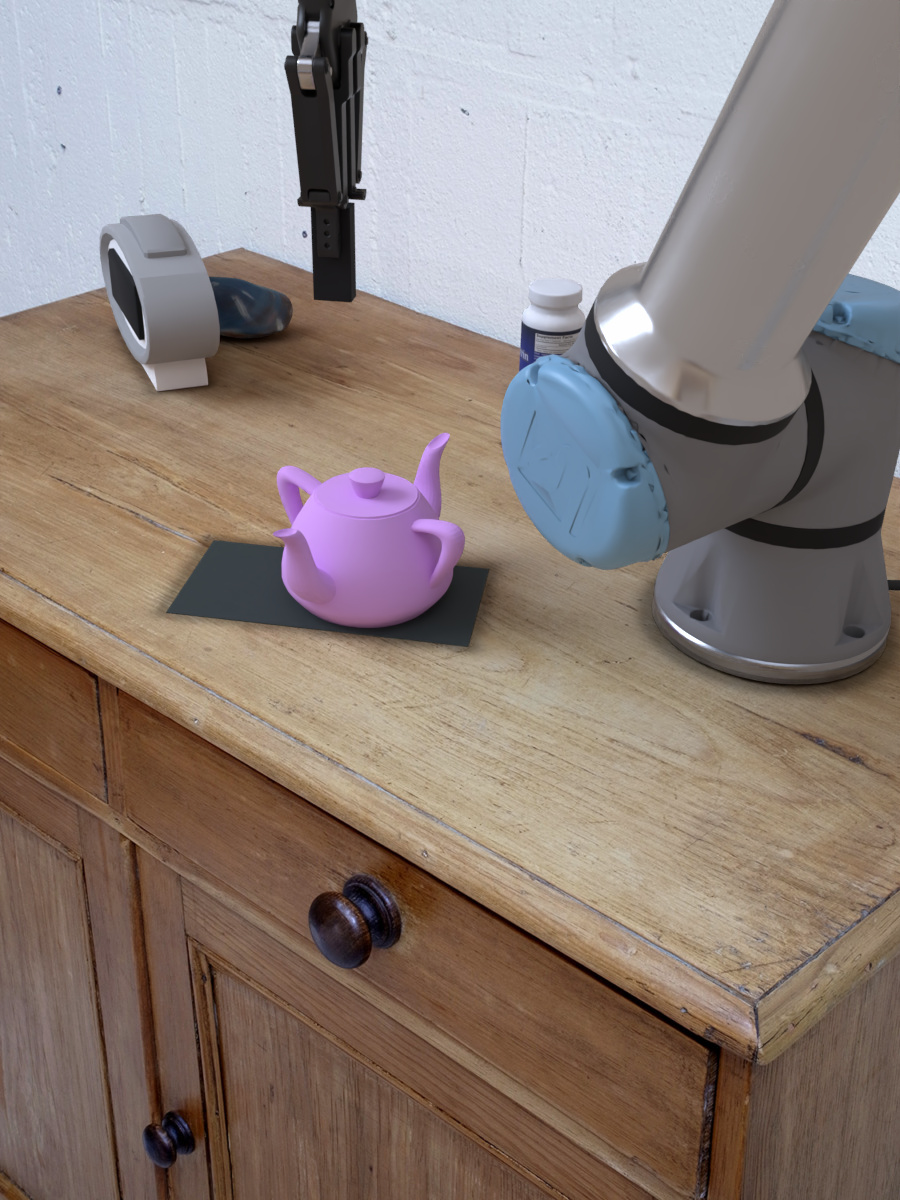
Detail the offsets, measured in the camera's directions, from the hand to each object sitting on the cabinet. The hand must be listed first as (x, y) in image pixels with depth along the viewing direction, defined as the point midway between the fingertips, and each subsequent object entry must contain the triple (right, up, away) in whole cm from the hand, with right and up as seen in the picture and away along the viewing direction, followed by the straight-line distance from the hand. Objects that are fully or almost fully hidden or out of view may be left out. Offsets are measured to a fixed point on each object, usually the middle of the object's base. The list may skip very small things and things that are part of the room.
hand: (335, 297), depth 92 cm
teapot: (+2, -21, -3) cm, 21 cm away
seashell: (-13, +6, +39) cm, 41 cm away
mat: (0, -21, -3) cm, 21 cm away
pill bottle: (+17, -3, +28) cm, 32 cm away
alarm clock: (-19, +2, +32) cm, 38 cm away
